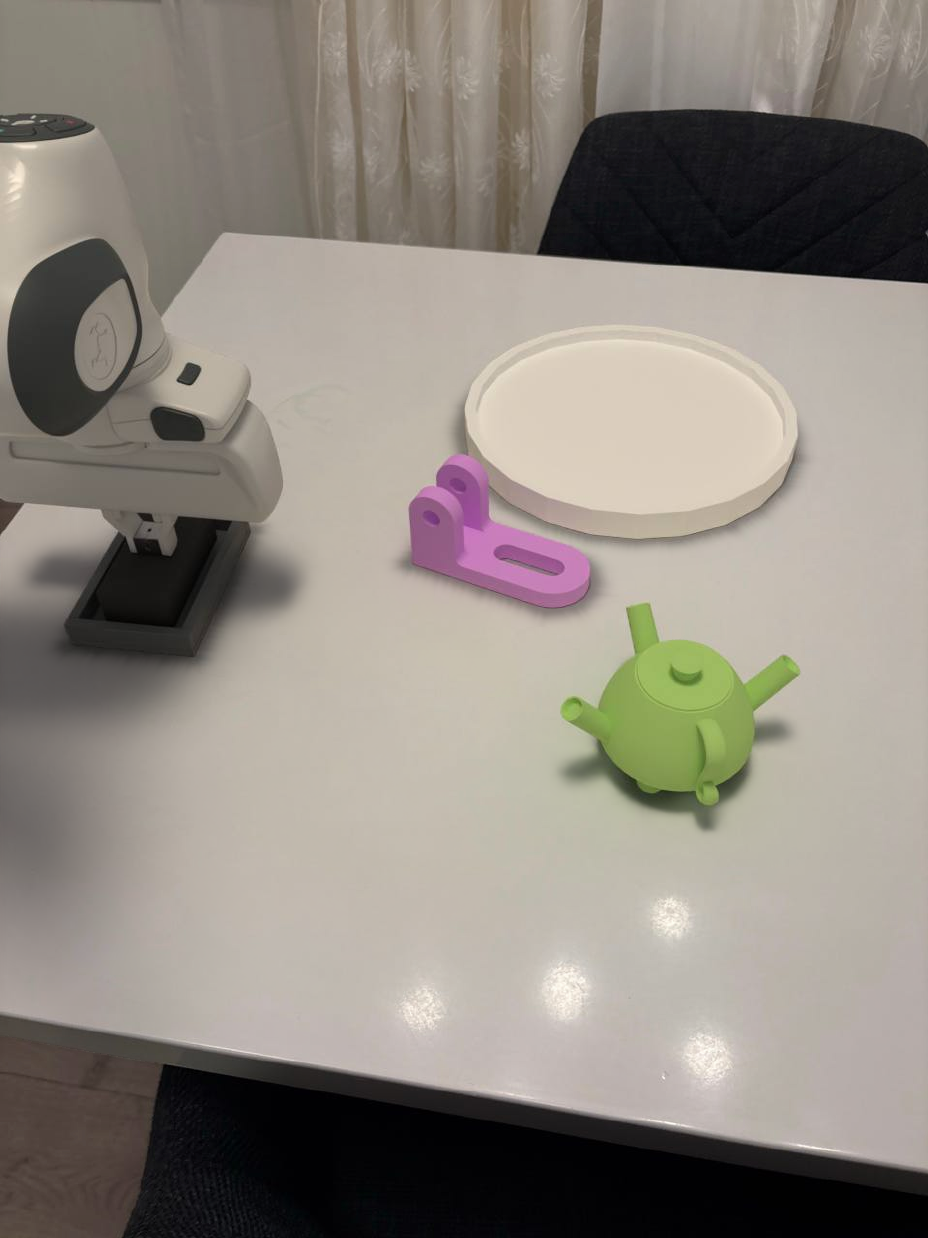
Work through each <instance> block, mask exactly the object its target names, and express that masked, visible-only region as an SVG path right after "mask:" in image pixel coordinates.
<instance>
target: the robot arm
mask: <svg viewBox="0 0 928 1238" xmlns="http://www.w3.org/2000/svg"><path fill="white" fill-rule="evenodd" d="M149 273H150V272H149V261H148V257H147V253H146V249H145V245H144V242H143V238H142V234H141V230H140V227H139V223H138V220H137V217H136V213H135V210H134V208H133V203H132V201H131V198H130V194H129V192H128V189H127V187H126V184H125V181H124V179H123V176H122V173H121V171H120V168H119V166H118V164H117V161H116V159H115V156H114V154H113V152H112V150H111V148H110V146H109V144H108V142H107V139H106V138H105V137H104V135H103V133H102V132H101V130H100V129H99V128H98V127H97V126H96V125H94V124H93V123H90V122H88V121H86V120H84V119H82V118H78V117H76V116H72V115H67V114H60V113H59V114H58V113H36V112H35V113H30V112H29V113H27V112H26V113H23V112H22V113H17V114H7V115H4V114H0V499H1V500H2V501H4V502H8V503H17V504H30V505H43V506H54V507H55V506H56V507H67V508H80V509H90V510H100V511H101V514H102V518H103V519H104V520H105V521H106V522H107V523H108V524H109V525H111V526H112V527H113V528H114V529H115V530H116V531H117V532H118V531H119V532H120V533H121V534H122V535H123V536H126V539H127V542H128V545H129V548H130V551H131V552H132V553H143V554H155V555H165V556H171V555H172V553H173V552H174V550H175V548H176V546H177V537H176V533H175V529H174V524H175V522H176V520H177V517H178V516H184V517H196V518H208V519H220V520H232V521H244V522H249V523H257V524H260V523H263V522H265V521H266V520H267V519H268V518H269V517H270V516H271V515H272V514H273V512H274V510H275V509H276V507H277V505H278V503H279V501H280V499H281V496H282V493H283V488H284V476H283V475H284V474H283V470H282V465H281V461H280V457H279V452H278V449H277V446H276V442H275V439H274V436H273V433H272V429H271V427H270V424H269V422H268V420H267V418H266V416H265V414H264V413H263V411H262V410H261V409H260V408H259V407H258V406H257V405H256V404H255V403H254V402H252V401H250V400H249V399H248V397H249V395H250V391H251V388H252V377H251V376H252V375H251V371H250V370H249V368H248V366H247V365H246V364H245V363H244V362H241V361H240V360H238V359H235V358H232V357H229V356H226V355H223V354H220V353H217V352H214V351H212V350H209V349H206V348H203V347H200V346H198V345H195V344H193V343H190V342H188V341H186V340H183V338H182V339H181V338H179V337H177V336H175V335H174V334H171V333H168V332H166V330H165V326H164V323H163V320H162V317H161V316H160V314H159V312H158V311H157V309H156V307H155V306H154V304H153V302H152V298H151V297H150V293H149ZM136 512H137V513H149V514H152V517H153V520H154V521H155V522H146V521H143V520H142V519H141V518H140V516H139V515H138V514H137V513H136ZM156 522H160V523H156ZM161 522H162V523H161Z"/></svg>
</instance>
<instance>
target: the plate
mask: <svg viewBox="0 0 928 1238" xmlns="http://www.w3.org/2000/svg"><path fill="white" fill-rule="evenodd" d="M463 409H464V433H465V440H466V441H465V442H466V447H467V449H466V450H467V456H470V457H472V458H473V459H475V460H476V461H478V462H479V463H480V464H481V465H482V466H483V468H484V469H485V471H486V473H487V475H488V479H489V488H491V489H492V490H494V491H495V492H496V493H497V494H498V495H499V496H501V497H502V498H503V499H504V500H505V501H506V502H507V503H508V504H510V505H512V506H514V507H516V508H518V509H520V510H522V511H523V512H526V513H528V514H529V515H532V516H533V517H535V518H538V519H540V520H541V521H543V522H545V523H548V524H552V525H555V526H559V527H561V528H566V529H570V530H574V531H577V532H580V533H584V534H587V535H593V536H602V537H603V536H604V537H612V538H613V537H614V538H621V539H622V538H623V539H632V540H645V539H646V540H647V539H659V538H672V537H685V536H690V535H693V534H696V533H700V532H705V531H708V530H711V529H716V528H719V527H723V526H727V525H729V524H730V523H732V522H734V521H736V520H738V519H740V518H742V517H744V516H746V515H747V514H749V513H752V512H754V511H755V510H757V509H759V508H760V507H762V505H763V504H764V503H765V502H767V500H769V498H770V497H771V496H772V495H773V494H774V493H776V491H777V490H778V489H780V488H781V486H782V485H783V483H784V480H785V478H786V476H787V473H788V471H789V468H790V466H791V463H792V461H793V458H794V453H795V450H796V446H797V442H798V437H799V431H798V416H797V410H796V408H795V405H794V403H793V402H792V400H791V398H790V397H789V395H788V392H787V391H786V389H785V387H784V386H783V385H782V384H781V383H780V382H779V381H778V380H777V379H776V378H775V377H773V375H772V374H770V372H768V371H767V370H766V368H764V367H763V366H762V365H761V364H759V363H757V362H756V361H754V360H752V359H751V358H749V357H747V356H745V355H744V354H742V353H740V352H739V351H737V350H735V349H734V348H732V347H729V346H726V345H724V344H721V343H719V342H716V341H713V340H710V339H708V338H705V337H703V336H700V335H696V334H692V333H688V332H683V331H678V330H673V329H669V328H663V327H659V326H658V327H657V326H647V325H645V326H644V325H633V324H632V325H631V324H606V325H605V324H604V325H590V326H589V325H588V326H579V327H574V328H570V329H569V328H568V329H564V330H560V331H555V332H549V333H545V334H543V335H540V336H537V337H535V338H532V339H530V340H528V341H525V342H522V343H519V344H517V345H514V346H513V347H511V348H509V350H506V351H505V352H504V353H502V354H501V355H499V356H498V357H496V358H494V359H493V360H492V361H491V362H489V363H488V364H487V365H486V366H485V368H483V370H482V371H481V372H480V373H479V375H477V377H476V378H475V380H473V382H472V383H471V386H470V388H469V392H468V396H467V398H466V401H465V404H464V408H463Z"/></svg>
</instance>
